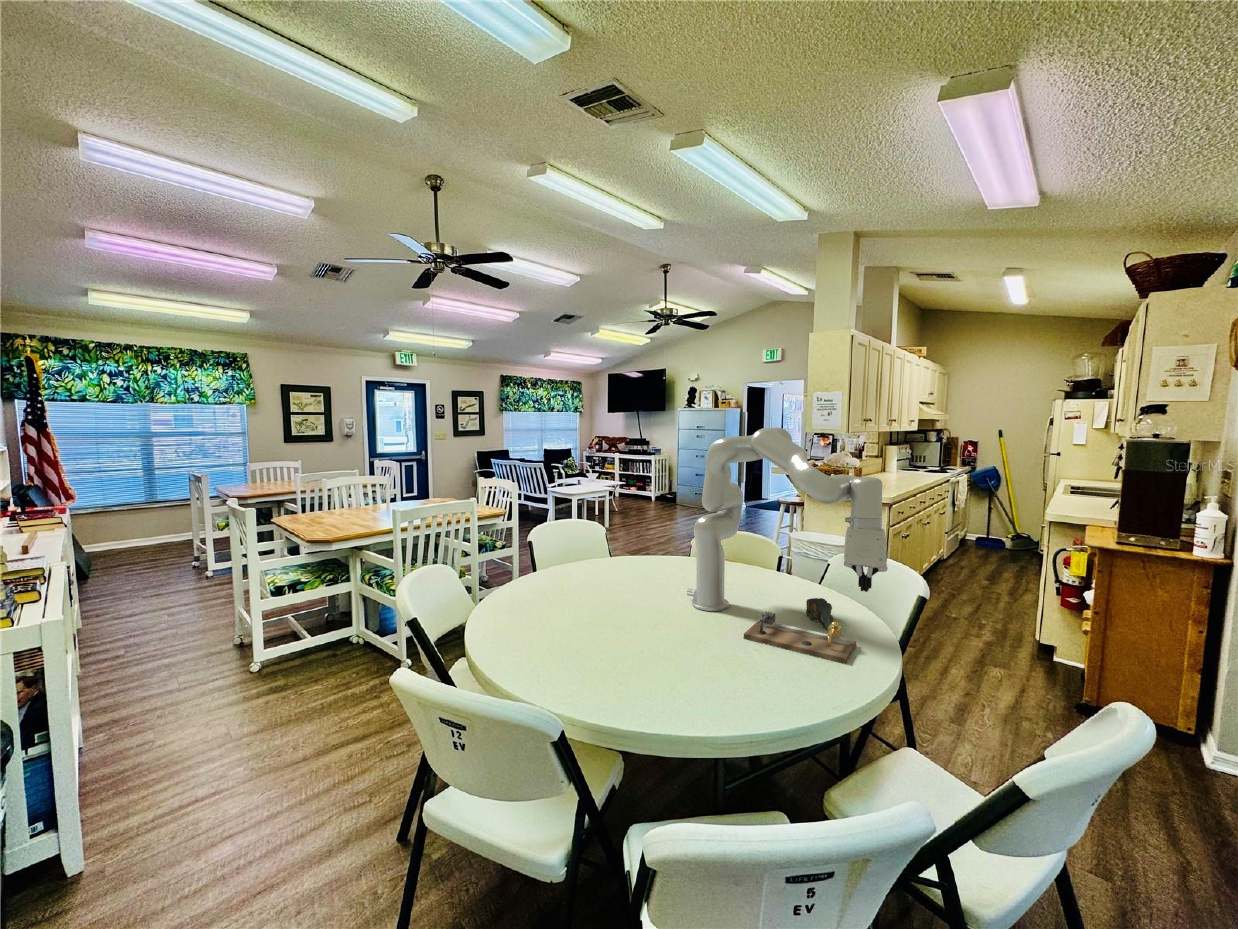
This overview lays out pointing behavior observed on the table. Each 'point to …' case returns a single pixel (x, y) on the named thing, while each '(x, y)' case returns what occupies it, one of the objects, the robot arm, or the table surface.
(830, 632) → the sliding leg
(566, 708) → the table surface
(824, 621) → the sculpture
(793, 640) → the plate
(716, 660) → the table surface
